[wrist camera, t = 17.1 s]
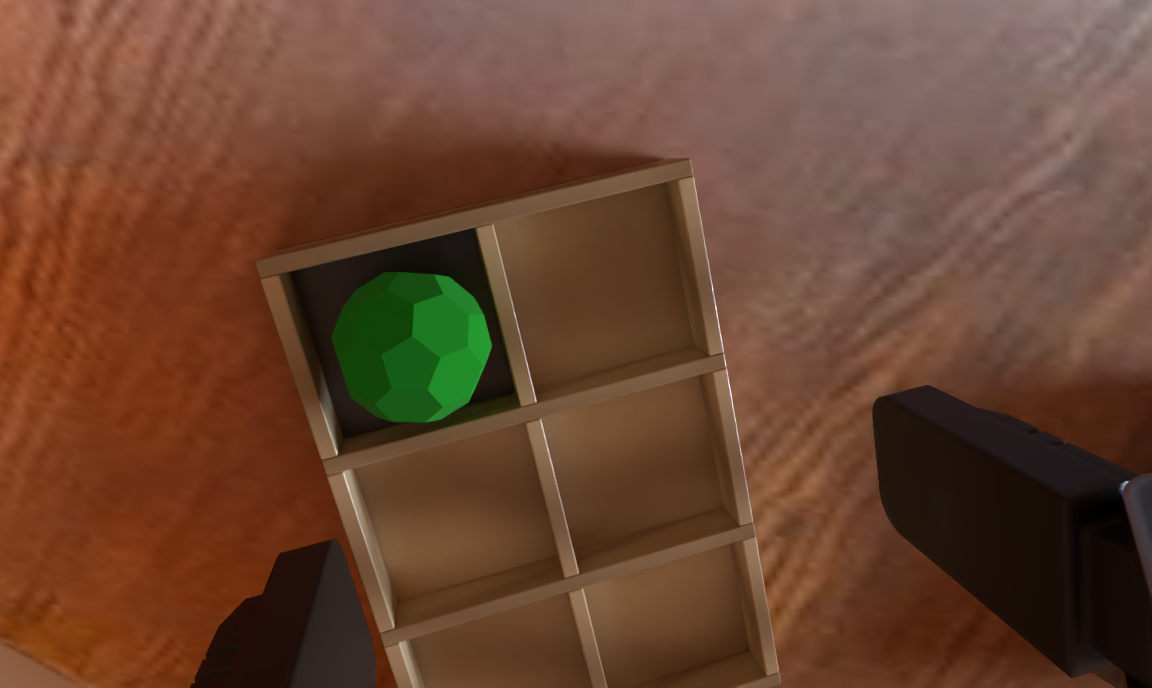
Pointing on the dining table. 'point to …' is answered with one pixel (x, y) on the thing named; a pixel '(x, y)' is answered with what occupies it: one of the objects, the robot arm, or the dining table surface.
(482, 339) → the polyhedron
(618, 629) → the compartment tray
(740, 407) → the dining table surface
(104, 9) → the dining table surface
